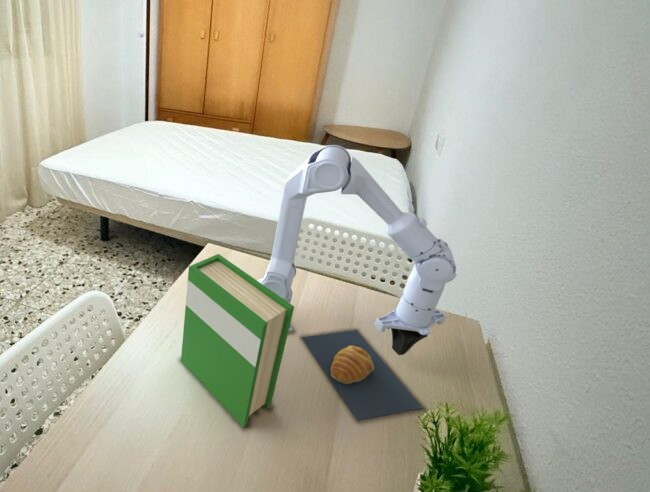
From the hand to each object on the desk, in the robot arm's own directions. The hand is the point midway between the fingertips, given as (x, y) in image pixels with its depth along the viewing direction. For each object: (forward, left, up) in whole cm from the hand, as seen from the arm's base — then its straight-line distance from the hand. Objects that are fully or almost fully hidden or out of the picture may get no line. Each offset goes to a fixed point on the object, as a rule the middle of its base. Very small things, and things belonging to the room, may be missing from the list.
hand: (398, 351), depth 83 cm
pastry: (0, -10, -4) cm, 11 cm away
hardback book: (-2, -37, -4) cm, 37 cm away
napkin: (0, -9, -4) cm, 9 cm away
